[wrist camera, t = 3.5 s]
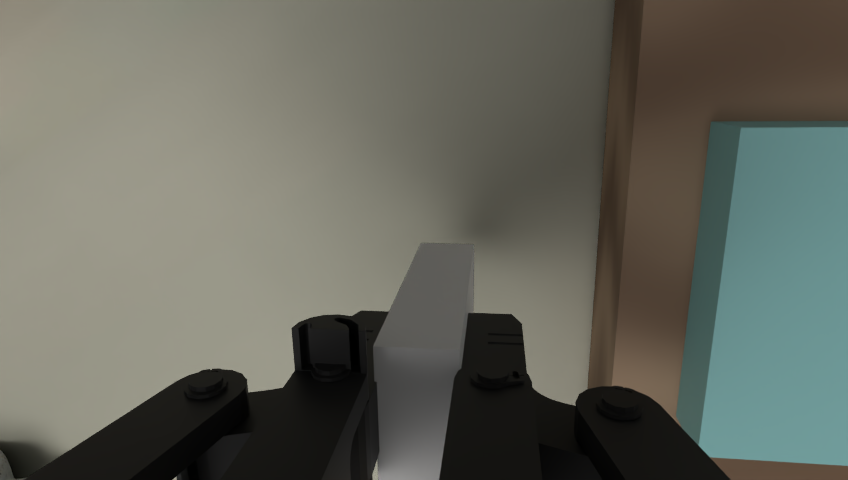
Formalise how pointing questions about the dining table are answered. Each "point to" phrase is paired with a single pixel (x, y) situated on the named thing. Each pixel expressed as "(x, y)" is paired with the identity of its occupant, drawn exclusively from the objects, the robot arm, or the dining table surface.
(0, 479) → the ceramic mug
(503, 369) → the robot arm
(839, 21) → the board
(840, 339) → the card
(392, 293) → the dining table surface
